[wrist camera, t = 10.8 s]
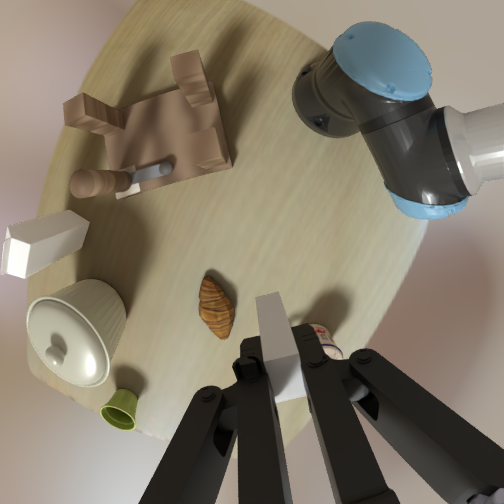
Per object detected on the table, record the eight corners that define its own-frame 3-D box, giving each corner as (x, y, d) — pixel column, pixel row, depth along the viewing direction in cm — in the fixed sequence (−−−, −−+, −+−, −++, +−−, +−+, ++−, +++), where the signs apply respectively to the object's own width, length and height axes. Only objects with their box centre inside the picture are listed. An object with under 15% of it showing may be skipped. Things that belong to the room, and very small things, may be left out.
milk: (62, 235, 46) (-11, 266, 25) (69, 208, 45) (-7, 229, 24) (82, 248, 47) (12, 287, 26) (91, 221, 46) (16, 250, 25)
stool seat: (213, 85, 41) (202, 43, 25) (232, 167, 45) (229, 160, 29) (107, 119, 41) (58, 101, 25) (122, 198, 46) (74, 209, 30)
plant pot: (150, 398, 58) (142, 422, 49) (134, 412, 59) (126, 435, 51) (119, 377, 56) (107, 400, 47) (106, 393, 57) (95, 415, 49)
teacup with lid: (334, 322, 54) (354, 353, 43) (325, 356, 56) (340, 390, 45) (278, 320, 53) (288, 354, 42) (272, 356, 55) (279, 393, 44)
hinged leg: (170, 156, 41) (141, 146, 27) (175, 177, 42) (146, 176, 28) (113, 174, 41) (67, 174, 27) (117, 194, 42) (72, 201, 28)
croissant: (242, 331, 54) (242, 345, 49) (210, 338, 54) (207, 351, 49) (225, 270, 50) (224, 280, 46) (190, 278, 50) (185, 288, 46)
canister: (150, 338, 53) (118, 407, 33) (86, 343, 53) (44, 398, 33) (124, 257, 48) (66, 303, 28) (58, 271, 48) (-3, 311, 28)
